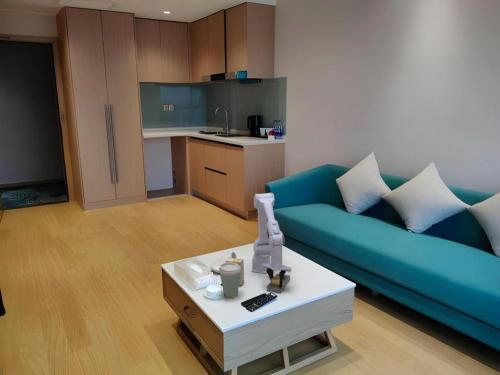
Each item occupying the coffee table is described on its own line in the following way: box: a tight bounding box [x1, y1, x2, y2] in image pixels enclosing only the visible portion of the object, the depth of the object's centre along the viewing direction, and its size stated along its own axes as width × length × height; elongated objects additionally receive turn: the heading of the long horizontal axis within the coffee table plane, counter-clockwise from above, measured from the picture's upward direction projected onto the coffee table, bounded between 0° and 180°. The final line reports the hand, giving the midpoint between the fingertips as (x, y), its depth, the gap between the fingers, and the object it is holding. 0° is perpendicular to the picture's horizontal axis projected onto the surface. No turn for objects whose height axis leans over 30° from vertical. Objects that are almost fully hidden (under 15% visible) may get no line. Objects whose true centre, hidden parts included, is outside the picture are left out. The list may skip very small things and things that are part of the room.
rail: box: [266, 273, 291, 294], centre depth 194 cm, size 7×16×2 cm, turn 158°
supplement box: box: [226, 257, 245, 287], centre depth 196 cm, size 8×5×13 cm, turn 71°
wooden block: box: [270, 275, 281, 287], centre depth 190 cm, size 4×4×6 cm
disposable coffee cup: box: [219, 262, 241, 299], centre depth 183 cm, size 11×11×15 cm
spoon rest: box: [210, 250, 238, 274], centre depth 217 cm, size 24×12×7 cm, turn 162°
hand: (276, 283), depth 190 cm, fingers closed on wooden block, 4 cm apart
